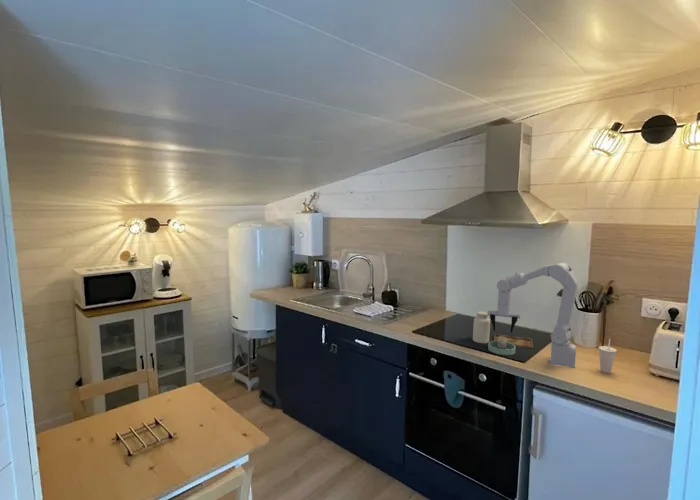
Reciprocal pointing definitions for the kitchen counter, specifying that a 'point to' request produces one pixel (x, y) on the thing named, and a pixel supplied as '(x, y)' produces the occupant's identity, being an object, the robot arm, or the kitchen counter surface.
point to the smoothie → (606, 357)
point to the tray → (517, 341)
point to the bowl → (508, 351)
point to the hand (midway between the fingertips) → (502, 331)
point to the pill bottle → (481, 328)
